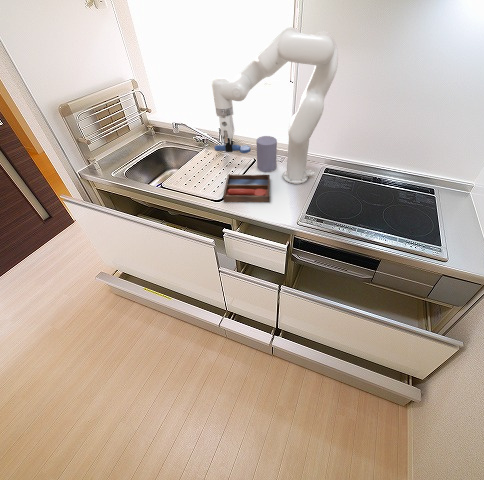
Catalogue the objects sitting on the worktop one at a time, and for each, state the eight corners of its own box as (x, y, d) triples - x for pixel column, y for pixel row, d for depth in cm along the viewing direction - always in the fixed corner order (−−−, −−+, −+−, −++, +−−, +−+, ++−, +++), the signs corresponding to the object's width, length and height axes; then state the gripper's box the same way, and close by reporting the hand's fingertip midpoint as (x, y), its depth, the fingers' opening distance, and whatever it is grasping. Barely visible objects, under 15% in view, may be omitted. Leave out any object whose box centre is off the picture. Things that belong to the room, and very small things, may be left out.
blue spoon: (250, 147, 130) (250, 142, 128) (250, 153, 126) (249, 147, 124) (215, 148, 130) (214, 142, 128) (214, 153, 126) (213, 148, 124)
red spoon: (265, 191, 124) (265, 186, 122) (265, 198, 120) (265, 193, 118) (228, 190, 124) (227, 185, 122) (227, 197, 120) (226, 192, 118)
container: (272, 173, 137) (273, 146, 126) (254, 170, 139) (253, 143, 128) (278, 164, 144) (279, 137, 133) (261, 161, 146) (260, 134, 135)
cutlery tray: (269, 180, 132) (269, 174, 130) (269, 202, 119) (269, 196, 117) (228, 180, 132) (227, 174, 130) (224, 202, 119) (223, 196, 117)
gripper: (231, 117, 109) (235, 158, 122) (234, 104, 120) (238, 142, 133) (213, 117, 109) (219, 158, 122) (218, 104, 120) (224, 142, 133)
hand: (229, 149), depth 128 cm, fingers closed on blue spoon, 2 cm apart
